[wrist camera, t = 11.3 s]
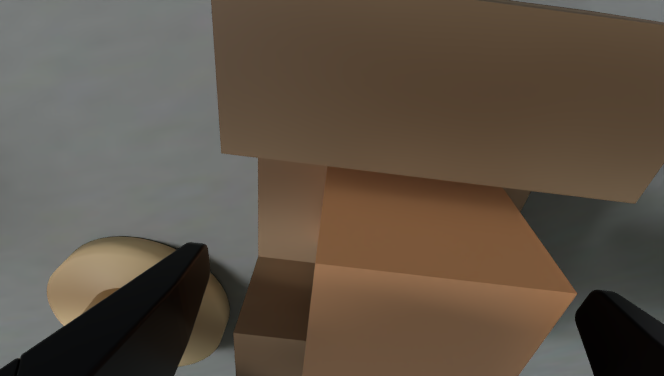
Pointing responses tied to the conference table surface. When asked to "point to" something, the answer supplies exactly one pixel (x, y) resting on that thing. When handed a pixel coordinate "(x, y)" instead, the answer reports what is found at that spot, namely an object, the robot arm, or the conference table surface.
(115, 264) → the spool
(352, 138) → the notch board
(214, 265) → the conference table surface
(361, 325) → the light brown wooden block
